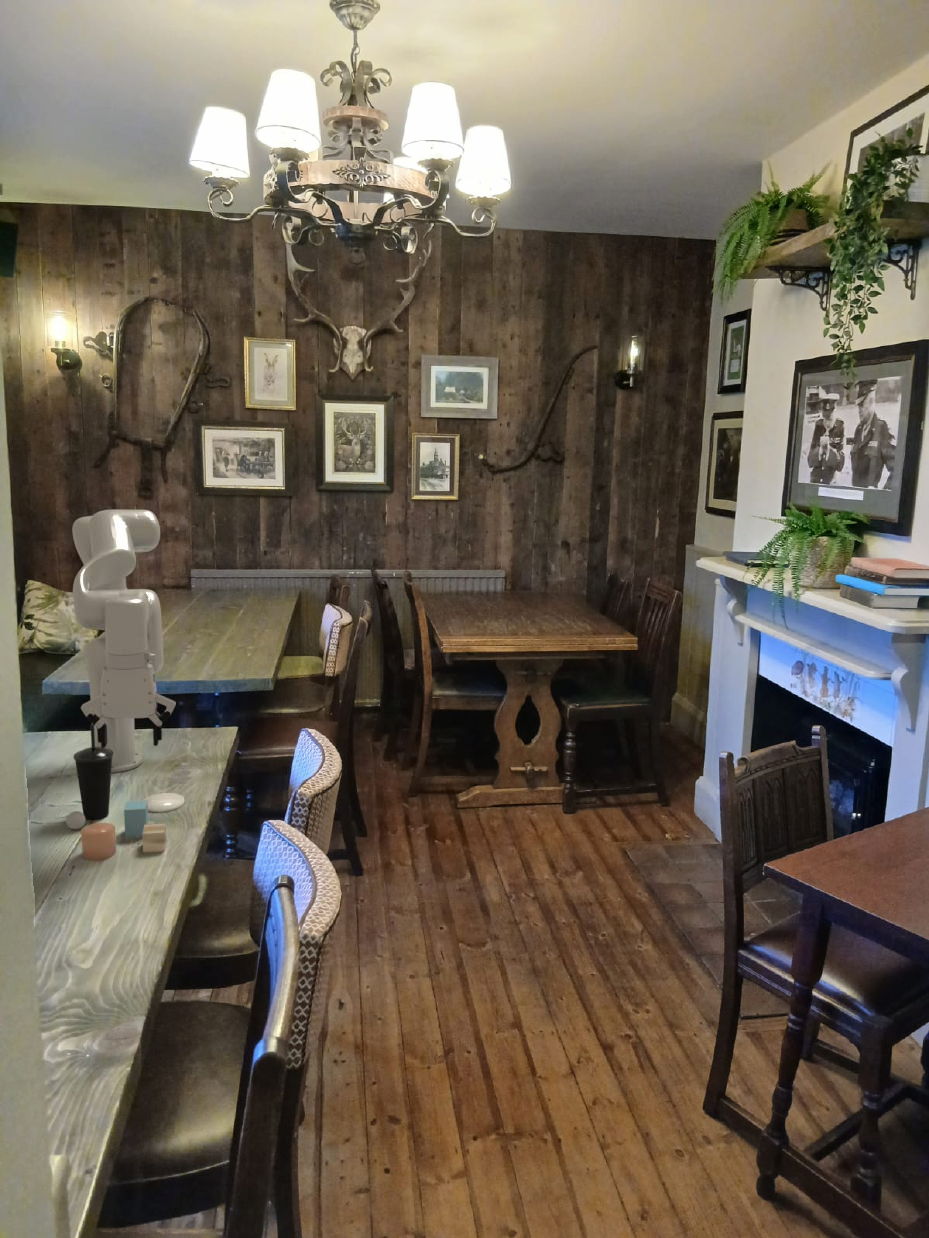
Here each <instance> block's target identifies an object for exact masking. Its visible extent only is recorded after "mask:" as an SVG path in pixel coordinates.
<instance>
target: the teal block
mask: <svg viewBox="0 0 929 1238" xmlns="http://www.w3.org/2000/svg"><path fill="white" fill-rule="evenodd" d="M123 811H124V812H123V813H124V814H123V815H124V816H123V817H124V818H123V819H124V838H125V839H131V838H133V839H135V838H142V833H143V829H144V825H149V813H148V812H149V811H148V803H147V801H142V800H140V801H138V800H137V801H126V802H125V806H124V810H123Z"/></svg>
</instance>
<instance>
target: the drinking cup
mask: <svg viewBox="0 0 929 1238" xmlns="http://www.w3.org/2000/svg"><path fill="white" fill-rule="evenodd" d="M90 741H91V743H90V745H91V746H90V747H86V748H83V749H82V750H79V751H77V752H75V753H74V754H73V756H72V757H73V760H74V761H75V768H76V773H77V781H78V787H79V795H80V801H81V808H82V813H83V814H84V816H85V820H88V821H99V820H103V819H104V818H108V816H109V814H110V813H109V812H110V797H111V796H110V794H111V779H112V773H111V766H112V757H113V755H114V753H113V751H112V750H110V749H107V748H101V747H95V733H94V724H92V723H91V724H90Z"/></svg>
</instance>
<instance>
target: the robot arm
mask: <svg viewBox="0 0 929 1238" xmlns="http://www.w3.org/2000/svg"><path fill="white" fill-rule="evenodd" d="M71 530H72V538H73V541H74V542H73V543H74V545H75V549H76V551H77V553H78V555H79V556H78V557H80V558H79V559H80V560H81V562H82V564H83V566H82V567H81V568H80V570H79V571H78V572H77V574H76V576H75V578H74V581H73V585H72V597H73V598H72V599H73V607H74V608H73V609H74V615H75V619H76V622H77V623H78V625H80V626H81V628H84V629H88V630H89V629H91V630H93V629H94V630H95V629H96V630H99V631H100V630H101V631H104V632H105V634H104V636H98V637H96V638H95V637H94V638H93V639H91V640H90V641H88V642H87V644H86V645H85V647H84V652H83V655H84V662H85V666H86V671H87V677H88V682H89V683H88V685H89V696H90V700H88V701H87V702H85V703H83V704H82V705H81V706H80V710H81V711H82V712H83V714H84V716H85V717H86V720H88V721H89V722H90V723H91V724H94V733H95V747H101V748H107V749H110V750H112V751H113V753H114V755H113V757H112V766H111V774H112V773H119V772H126V771H129V770H132V769H135V768H137V767H139V766H140V765H141V764H142V763H143V756H142V754H141V753H139V752H137V751H136V740H135V737H136V735H135V734H136V732H135V719H144V718H149V720H150V721H152V723H153V726H152V737H153V738H152V739H153V740H152V741H153V746H155V747H157V746H158V744H159V742H160V741H162V740H163V725H162V724H164V723H165V722H166V721H167V720H168V719H169V718H170V717H171V715H172V713H173V711H174V709H175V707H176V703H177V702H176V701H175V700H172V699H171V698H168V697H166V696H163V695H161V694H159V693H158V692H157V684H156V683H157V682H156V676H155V673H157V672H159V671H161V670H162V668H163V665H164V660H165V659H164V658H165V657H164V637H163V623H162V622H163V621H162V608H161V602H160V599H159V596H158V594H157V593H156V592H155V591H154V590H151V589H147V588H135V589H134V588H133V589H129V588H127V580H126V579H127V576H129V575H130V574H132V573H133V571H134V570H135V568H136V564H137V557H136V553H146V552H147V553H149V552H150V551H153V550H154V549H155V548H156V547H157V546H158V544H159V542H160V540H161V539H160V538H161V527H160V522H159V520H158V518H157V515H155V513H154V512H152V511H150V510H149V509H148V510H147V509H104V510H100V511H97V512H96V513H94V514H93V515H89V516H88V515H87V516H82V517H79V518H78V519H76V520H75V521H74V522H73V524H72V529H71ZM158 704H161V705H163V706H165V707H166V709H165V710H164V712H162V713H161V714H160V713H159V712H158V711H157V709H158Z"/></svg>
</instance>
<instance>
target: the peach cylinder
mask: <svg viewBox="0 0 929 1238" xmlns="http://www.w3.org/2000/svg"><path fill="white" fill-rule="evenodd" d="M116 838H117V837H116V825H114V824H112V823H110V822H95V823H91V824H88V825H86V826H84V827H83V828H81V830H80V839H81V840H80V842H81V857H82V858H83V859H84V860H86V861H91V862H95V861H96V862H97V861H103V860H107V859H110V858H112V857H113V856H115V855H116V853H117V841H116V840H117V839H116Z"/></svg>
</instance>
